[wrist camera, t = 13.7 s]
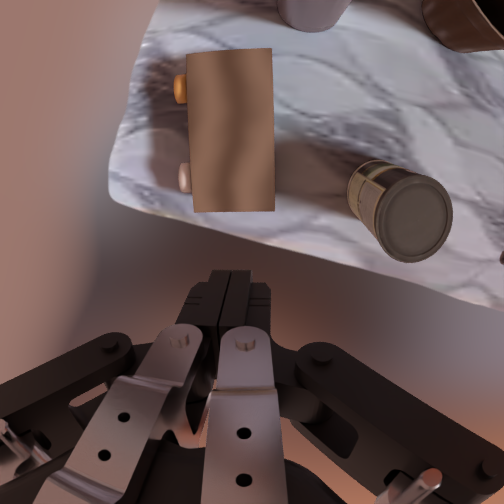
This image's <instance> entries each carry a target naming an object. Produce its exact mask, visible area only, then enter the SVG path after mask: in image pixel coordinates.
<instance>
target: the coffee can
mask: <svg viewBox="0 0 504 504" xmlns="http://www.w3.org/2000/svg"><path fill="white" fill-rule="evenodd" d="M347 199H348V203H349V206H350V208H351V210H352V212H353V213H354V214H355V215H356V216H357V217H358V218H359V219H360V220H361V221H362V223H363V224H364V225H365V226H366V227H367V228H368V230H369V231H370V232H371V233H372V234H373V236H374V237H375V238H376V239H377V240H378V242H379V244H380V245H381V247H382V248H383V250H384V251H385V252H386V253H387V254H388V255H389V256H390V257H391V258H393V259H395V260H397V261H400V262H404V263H415V262H419V261H422V260H425V259H427V258H429V257H430V256H432V255H433V254H435V253H436V252H437V251H438V250H439V249H440V248H441V246H442V245H443V244H444V242H445V241H446V239H447V237H448V235H449V232H450V230H451V226H452V220H453V208H452V203H451V199H450V197H449V195H448V193H447V191H446V190H445V188H444V187H443V186H442V185H441V184H440V183H439V182H438V181H436V180H435V179H433V178H431V177H428V176H425V175H421V174H418V173H416V172H413V171H410V170H408V169H405V168H402V167H399V166H397V165H394V164H392V163H390V162H387V161H384V160H372V161H368V162H366V163H364V164H362V165H361V166H360V167H358V168H357V169H356V170H355V171H354V173H353V174H352V176H351V178H350V180H349V183H348V187H347Z"/></svg>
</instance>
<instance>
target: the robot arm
mask: <svg viewBox="0 0 504 504" xmlns="http://www.w3.org/2000/svg"><path fill="white" fill-rule="evenodd" d="M351 1H352V0H277V8H278V12H279V14H280V16H281V17H282V19H283V20H284V21H285V22H286V23H287V24H289V25H290V26H292V27H294V28H295V29H298V30H301V31H304V32H322V31H325V30H328V29H330V28H331V27H333V26H334V25H335V24H336V23H337V21H338V20H339V18H340V17H341V15H342V14H343V12H344V11H345V10H346V8H347V7H348V5H349V4H350V2H351ZM270 311H271V290H270V288H269V287H268V286H267V284H266V283H253V282H252V270H233V271H232V270H212V273H211V275H210V278H209V281H208V282H199V283H197V284H196V285H195V286H194V287H192V288H191V290H190V292H189V294H188V296H187V298H186V300H185V303H184V305H183V307H182V310H181V312H180V314H179V316H178V318H177V320H176V323H175V325H171V326H169V327H167V328H165V329H163V330H162V331H161V332H160V333H159V335H158V336H157V338H156V340H155V341H154V342H153V343H146V344H139V345H132V342H131V339H130V338H129V337H128V336H127V335H125V334H123V333H119V332H112V333H107V334H104V335H102V336H100V337H98V338H96V339H93V340H91V341H89V342H87V343H85V344H83V345H81V346H79V347H77V348H75V349H73V350H71V351H69V352H67V353H65V354H63V355H61V356H59V357H57V358H55V359H52V360H50V361H48V362H46V363H44V364H42V365H40V366H38V367H36V368H34V369H32V370H30V371H28V372H26V373H24V374H22V375H19V376H17V377H15V378H14V379H11V380H9V381H7V382H5V383H3V384H1V385H0V504H347V503H346V502H345V501H344V500H342V499H341V498H340V497H339V496H338V495H337V494H336V493H335V492H334V491H333V490H331V489H330V488H329V487H328V486H327V485H326V484H325V483H324V482H323V481H322V480H321V479H320V478H319V477H318V476H316V475H315V474H314V473H312V472H311V471H309V470H308V469H307V468H305V467H303V466H301V465H300V464H297V463H295V462H293V461H290V460H287V459H284V454H283V445H282V434H281V424H280V416H281V417H284V418H288V419H290V422H291V424H292V425H293V426H294V427H295V428H296V429H297V430H298V431H299V432H300V433H301V434H302V435H303V436H304V437H305V438H307V439H308V440H309V441H310V442H311V443H312V444H313V445H314V446H315V447H317V448H318V449H319V450H320V451H321V452H322V453H324V454H325V455H326V456H327V457H328V458H329V459H331V460H332V461H333V462H334V463H335V464H336V465H338V466H339V467H340V468H341V469H342V470H344V471H345V472H346V473H347V474H348V475H350V476H351V477H352V478H353V479H355V480H356V481H357V482H358V483H360V484H361V485H362V486H364V487H365V488H366V489H367V490H369V491H370V492H371V493H373V494H374V495H375V496H377V498H376V501H375V504H481V503H482V502H483V501H485V500H486V499H488V498H489V497H491V496H492V495H493V494H495V493H496V492H497V491H498V490H500V489H501V488H502V487H503V486H504V451H503V450H502V449H500V448H499V447H497V446H495V445H494V444H492V443H490V442H488V441H486V440H485V439H483V438H482V437H480V436H478V435H476V434H475V433H473V432H471V431H470V430H468V429H466V428H465V427H463V426H461V425H460V424H458V423H456V422H455V421H453V420H452V419H450V418H448V417H447V416H445V415H443V414H442V413H440V412H438V411H437V410H435V409H434V408H432V407H430V406H429V405H427V404H425V403H424V402H422V401H421V400H419V399H418V398H416V397H414V396H413V395H411V394H410V393H408V392H407V391H405V390H403V389H402V388H400V387H399V386H397V385H396V384H394V383H392V382H391V381H389V380H387V379H386V378H385V377H383V376H381V375H380V374H378V373H377V372H375V371H374V370H372V369H371V368H369V367H368V366H366V365H365V364H363V363H362V362H360V361H359V360H357V359H356V358H354V357H353V356H351V355H350V354H348V353H347V352H345V351H344V350H342V349H341V348H339V347H337V346H336V345H333V344H330V343H326V342H314V343H309V344H307V345H305V346H303V347H301V348H300V349H299V350H298V351H293V350H289V349H285V348H283V347H281V346H279V345H278V344H276V343H275V342H274V341H273V339H272V338H271V335H270V316H271V315H270V314H271V312H270ZM214 379H217V386H216V389H214V390H212V388H213V383H214ZM102 383H104V384H105V386H106V388H107V390H108V391H106V392H105V393H103V394H101V395H99V396H97V397H95V398H94V399H92V400H90V401H88V402H86V403H84V404H82V405H81V406H78V407H73V406H70V405H69V403H70V401H71V400H72V399H74V398H76V397H77V396H79V395H81V394H83V393H85V392H87V391H89V390H91V389H92V388H94V387H96V386H98V385H100V384H102ZM209 408H210V410H209ZM208 411H209V419H208V429H207V439H206V447H203V448H199V441H200V437H201V434H202V431H203V427H204V424H205V421H206V418H207V414H208Z"/></svg>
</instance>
